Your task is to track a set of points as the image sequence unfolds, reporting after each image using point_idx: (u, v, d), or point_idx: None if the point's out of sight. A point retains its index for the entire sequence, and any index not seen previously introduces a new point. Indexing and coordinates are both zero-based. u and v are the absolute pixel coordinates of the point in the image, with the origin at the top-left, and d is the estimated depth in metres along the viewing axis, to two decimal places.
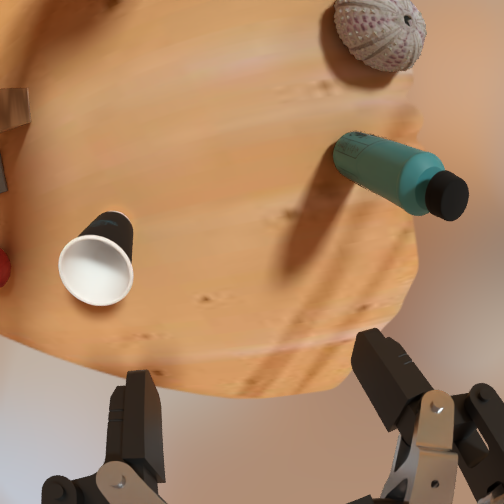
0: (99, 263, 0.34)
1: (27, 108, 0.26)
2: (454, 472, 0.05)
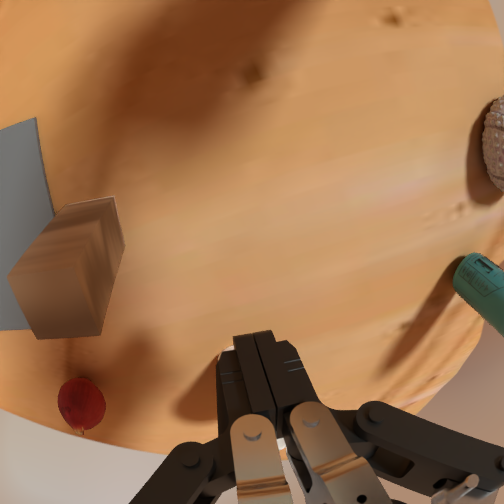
0: None
1: (119, 229, 0.23)
2: (374, 476, 0.06)
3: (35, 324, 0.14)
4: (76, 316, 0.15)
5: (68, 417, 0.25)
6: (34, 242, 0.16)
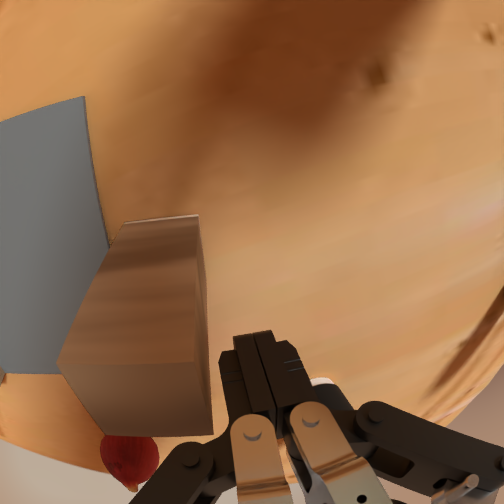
0: None
1: (203, 260, 0.18)
2: (374, 476, 0.06)
3: (105, 421, 0.09)
4: (181, 417, 0.10)
5: (118, 473, 0.20)
6: (91, 290, 0.11)
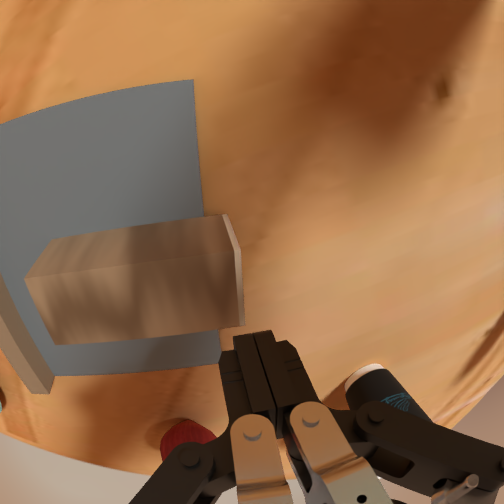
0: None
1: (229, 299, 0.15)
2: (374, 476, 0.06)
3: None
4: None
5: None
6: (108, 231, 0.17)
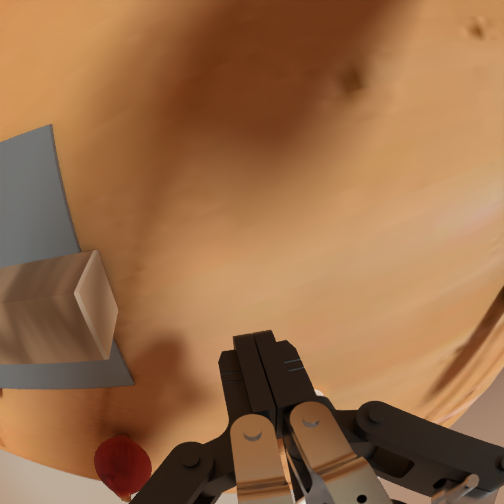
0: None
1: (85, 336, 0.14)
2: (374, 476, 0.06)
3: None
4: None
5: (111, 484, 0.20)
6: (8, 267, 0.15)
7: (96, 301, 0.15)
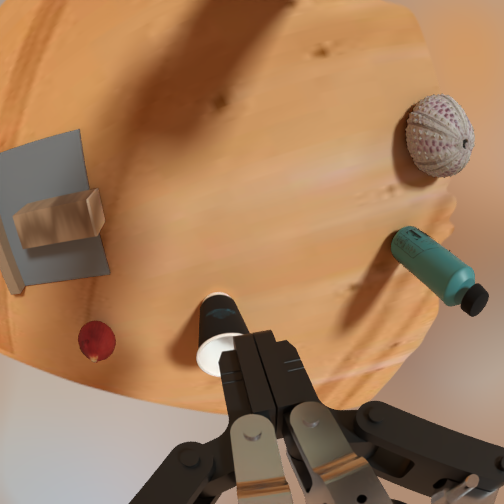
0: None
1: (88, 222, 0.32)
2: (373, 476, 0.06)
3: None
4: None
5: (86, 347, 0.38)
6: (50, 198, 0.33)
7: (95, 208, 0.33)
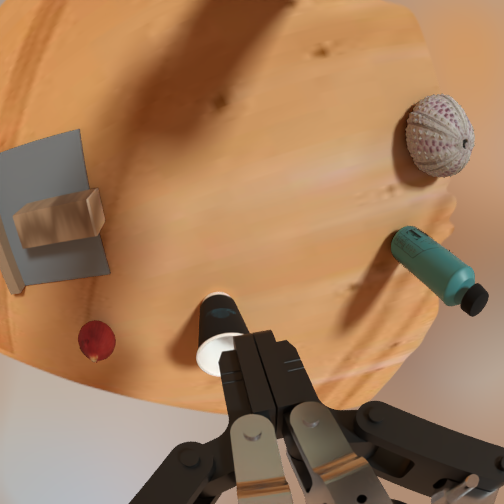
0: None
1: (88, 222, 0.32)
2: (373, 476, 0.06)
3: None
4: None
5: (86, 347, 0.38)
6: (50, 198, 0.33)
7: (95, 208, 0.33)
